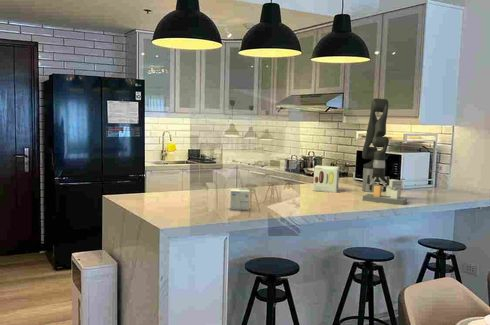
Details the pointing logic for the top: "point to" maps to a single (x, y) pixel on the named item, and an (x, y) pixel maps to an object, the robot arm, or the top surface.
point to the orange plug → (377, 190)
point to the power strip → (387, 198)
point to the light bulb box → (239, 199)
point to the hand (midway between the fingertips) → (377, 191)
